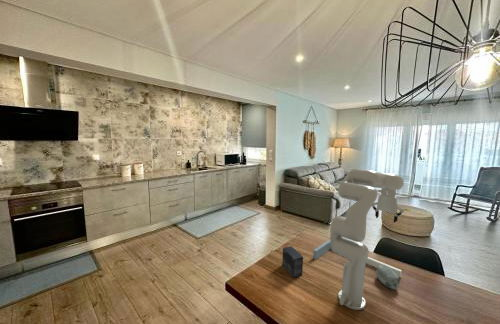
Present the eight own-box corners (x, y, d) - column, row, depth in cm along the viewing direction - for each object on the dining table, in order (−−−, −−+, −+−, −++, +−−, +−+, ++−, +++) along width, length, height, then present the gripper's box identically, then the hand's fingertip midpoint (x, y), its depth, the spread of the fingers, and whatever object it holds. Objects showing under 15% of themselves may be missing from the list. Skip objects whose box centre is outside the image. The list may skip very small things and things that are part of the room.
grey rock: (407, 288, 112) (397, 269, 114) (390, 295, 113) (380, 276, 115) (393, 277, 125) (385, 260, 127) (378, 283, 126) (370, 267, 128)
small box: (302, 275, 127) (303, 256, 125) (293, 278, 124) (293, 259, 123) (290, 262, 139) (291, 245, 137) (281, 265, 136) (282, 247, 135)
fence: (389, 295, 111) (390, 285, 110) (313, 258, 144) (313, 250, 143) (401, 276, 126) (402, 267, 125) (329, 246, 159) (330, 238, 159)
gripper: (371, 191, 134) (368, 217, 136) (404, 197, 122) (401, 225, 124) (374, 189, 139) (372, 214, 142) (406, 194, 127) (403, 222, 129)
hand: (385, 219), depth 133 cm, fingers open, 9 cm apart
